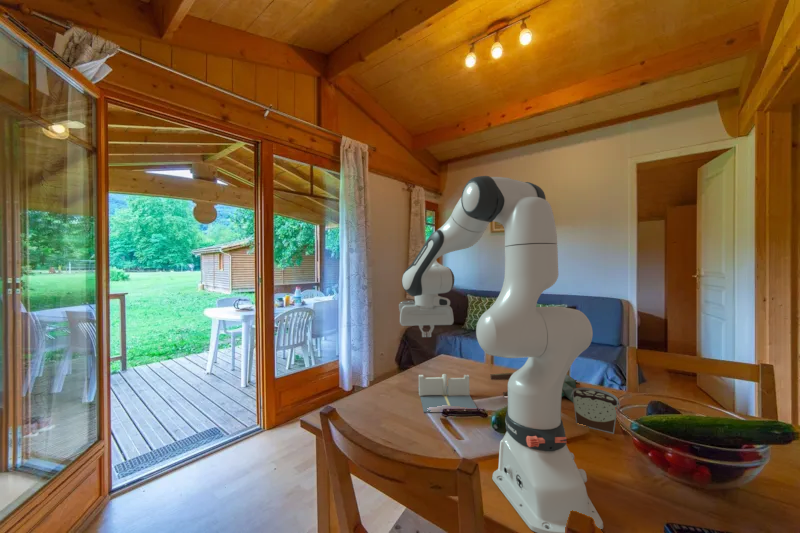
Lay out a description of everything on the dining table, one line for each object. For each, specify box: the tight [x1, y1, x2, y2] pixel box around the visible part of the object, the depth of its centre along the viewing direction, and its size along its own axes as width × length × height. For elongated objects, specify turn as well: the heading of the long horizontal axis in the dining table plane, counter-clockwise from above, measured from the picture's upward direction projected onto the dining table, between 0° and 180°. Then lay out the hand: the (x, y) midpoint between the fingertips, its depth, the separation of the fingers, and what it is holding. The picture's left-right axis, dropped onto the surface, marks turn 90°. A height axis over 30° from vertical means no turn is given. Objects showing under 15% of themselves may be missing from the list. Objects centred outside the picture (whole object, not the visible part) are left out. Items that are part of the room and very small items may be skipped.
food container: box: [571, 386, 621, 435], centre depth 94 cm, size 12×6×10 cm, turn 56°
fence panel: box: [418, 373, 448, 397], centre depth 114 cm, size 10×2×7 cm, turn 92°
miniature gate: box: [490, 372, 580, 403], centre depth 122 cm, size 27×6×30 cm
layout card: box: [417, 385, 478, 414], centre depth 113 cm, size 20×18×1 cm
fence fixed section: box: [447, 374, 470, 396], centre depth 115 cm, size 8×2×7 cm, turn 92°
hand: (426, 336), depth 118 cm, fingers closed
